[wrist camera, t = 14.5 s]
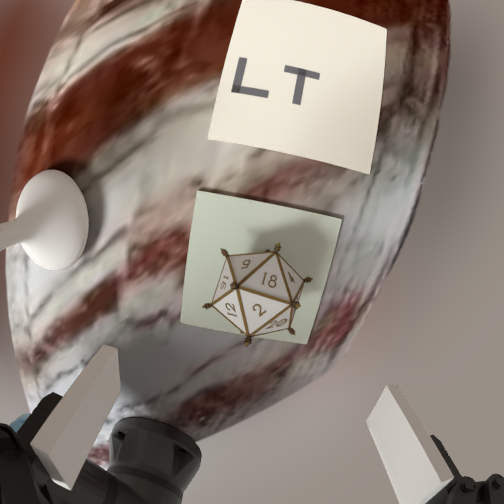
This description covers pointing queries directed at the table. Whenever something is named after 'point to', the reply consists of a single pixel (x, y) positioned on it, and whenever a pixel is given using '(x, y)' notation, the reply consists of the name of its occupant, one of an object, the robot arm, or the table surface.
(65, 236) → the flower in vase
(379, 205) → the table surface
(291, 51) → the card
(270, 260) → the game die
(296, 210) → the sage mat
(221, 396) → the table surface
